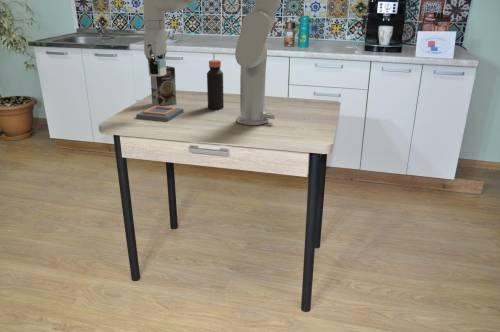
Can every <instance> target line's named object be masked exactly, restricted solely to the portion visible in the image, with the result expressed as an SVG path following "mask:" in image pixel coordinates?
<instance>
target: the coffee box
mask: <svg viewBox="0 0 500 332" xmlns="http://www.w3.org/2000/svg"><path fill="white" fill-rule="evenodd" d="M150 89H151V104H152V105H153V106H164V107H167V106H171V105H176V104H177V91H176V90H177V88H176V68H175V67H174V66H168V65H166V75H163V76H150Z"/></svg>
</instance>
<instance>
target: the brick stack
mask: <svg viewBox="0 0 500 332" xmlns="http://www.w3.org/2000/svg"><path fill="white" fill-rule="evenodd" d="M152 58H153V59H154V57H152ZM156 64H158V74H157V75H155V74H150V64H149V61H148V60H147V65H148V66H147V67H148V76H149V77H151V76H163V75H166V66H167V60H166V58H165V59H159V58H157V63H156Z"/></svg>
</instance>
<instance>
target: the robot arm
mask: <svg viewBox="0 0 500 332" xmlns="http://www.w3.org/2000/svg"><path fill="white" fill-rule="evenodd" d="M195 2H197V0H142V4H143V20H144V34H143V51H144V55H145V58H146V59H147V62H148V61H149V64H150V74H155V75H157V74H158V64H156V63H157V58H159V59H166V54H167V38H166V32H165V31H166V30H165V29H166V25H165V24H166V23H165V12H168V13H174V12H178V11H182V10H185V9H186V8H188V7H189V6H191V5H192V4H194V3H195ZM280 2H281V0H254V3H253V6H252V9H251V10H250V11H249V12H248V13H247V14H246V15H245V17H244V19H243V22H242V25H241V28H240V31H239V36H238V38H237V42H236V47H235V53H234V56H235V60H236V62H237V64H238V65H239V66H240V75H239V77H240V82H239V83H240V85H239V86H240V88H239V89H240V91H239V92H240V94H239V97H240V103H239V105H240V107H239V108H240V109H239V110H240V111H239V112H240V115H238V116H237V117H236V118H235V119H236V122H237V123H239V124H240V125H246V126H260V125H261V126H262V125H264V124H267V123H269V122H270V121H269V119H270V120H275V119H276V114H275V113H274V112H268V108H266V78H267V77H266V76H267V75H266V71H267V70H266V69H267V58H268V49H267V46H266V41H267V38H268V35H269V33H270V32H271V31H272V30H273V27H274V23H275V20H276V16H277V12H278V9H279V4H280ZM153 58H154V59H153Z"/></svg>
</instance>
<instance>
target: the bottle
mask: <svg viewBox="0 0 500 332" xmlns="http://www.w3.org/2000/svg"><path fill="white" fill-rule="evenodd" d="M221 63H222V61H221V60H219V59H212V60H211V59H210V60H208V68H209V70H208V71H207V72H206V85H207V86H206V87H207V89H206V90H207V108H208V109H209V110H215V111H217V110H222V109H224V106H225V105H224V103H225V102H224V73H223V71H222V70H221V66H222V65H221Z"/></svg>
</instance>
